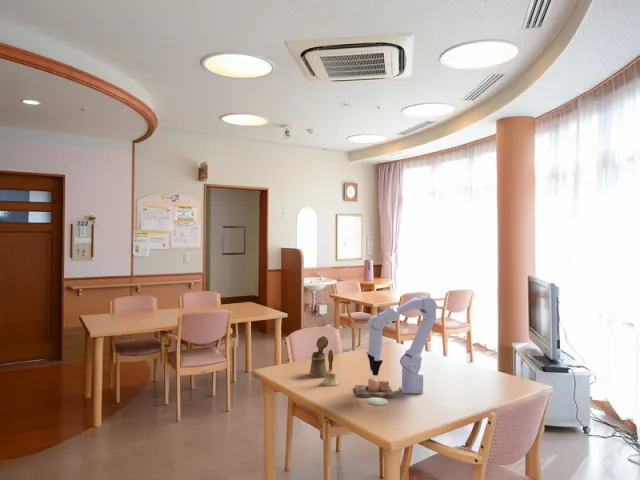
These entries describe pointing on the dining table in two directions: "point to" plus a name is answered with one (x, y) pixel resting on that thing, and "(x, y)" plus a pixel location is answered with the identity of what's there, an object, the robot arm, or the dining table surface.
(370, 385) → the peach rounded piece
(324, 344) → the wooden mug
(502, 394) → the dining table surface
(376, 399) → the sage mat
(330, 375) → the hand bell
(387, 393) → the walnut stand
